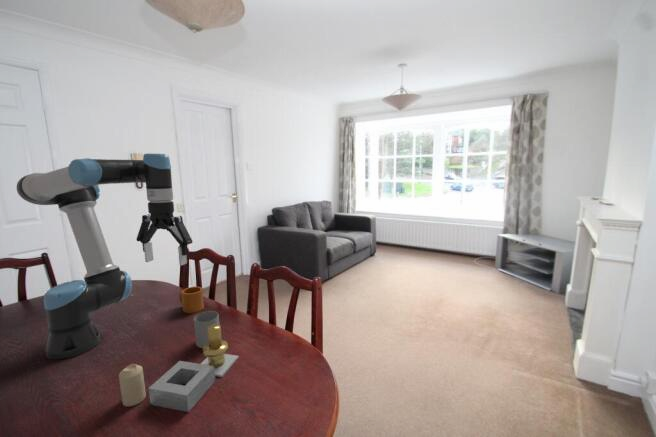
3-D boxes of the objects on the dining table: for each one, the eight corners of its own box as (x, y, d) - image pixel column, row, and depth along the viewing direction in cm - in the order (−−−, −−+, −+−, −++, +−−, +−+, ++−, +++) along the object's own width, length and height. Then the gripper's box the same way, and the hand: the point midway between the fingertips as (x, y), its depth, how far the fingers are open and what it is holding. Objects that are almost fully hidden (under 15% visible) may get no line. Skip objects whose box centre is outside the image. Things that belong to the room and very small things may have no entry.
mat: (193, 372, 95) (193, 370, 95) (212, 353, 104) (212, 352, 104) (222, 377, 93) (221, 375, 92) (238, 357, 102) (238, 355, 102)
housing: (150, 404, 82) (148, 388, 81) (181, 375, 94) (179, 360, 93) (188, 412, 79) (186, 395, 79) (215, 381, 91) (214, 366, 90)
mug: (191, 301, 146) (190, 283, 145) (207, 307, 140) (206, 288, 139) (174, 308, 139) (172, 289, 137) (190, 314, 133) (189, 295, 131)
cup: (212, 349, 107) (209, 323, 105) (191, 346, 109) (188, 321, 107) (224, 336, 115) (222, 312, 114) (205, 334, 117) (203, 310, 115)
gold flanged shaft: (199, 368, 96) (195, 332, 94) (213, 354, 103) (210, 320, 101) (220, 372, 94) (217, 334, 92) (233, 357, 101) (230, 322, 99)
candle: (129, 392, 87) (125, 361, 85) (149, 391, 87) (145, 360, 85) (118, 407, 81) (113, 374, 80) (139, 406, 82) (135, 372, 80)
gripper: (119, 201, 99) (126, 263, 103) (185, 203, 93) (190, 269, 97) (138, 198, 106) (144, 256, 110) (200, 201, 100) (204, 262, 104)
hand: (166, 262), depth 103 cm, fingers open, 13 cm apart
